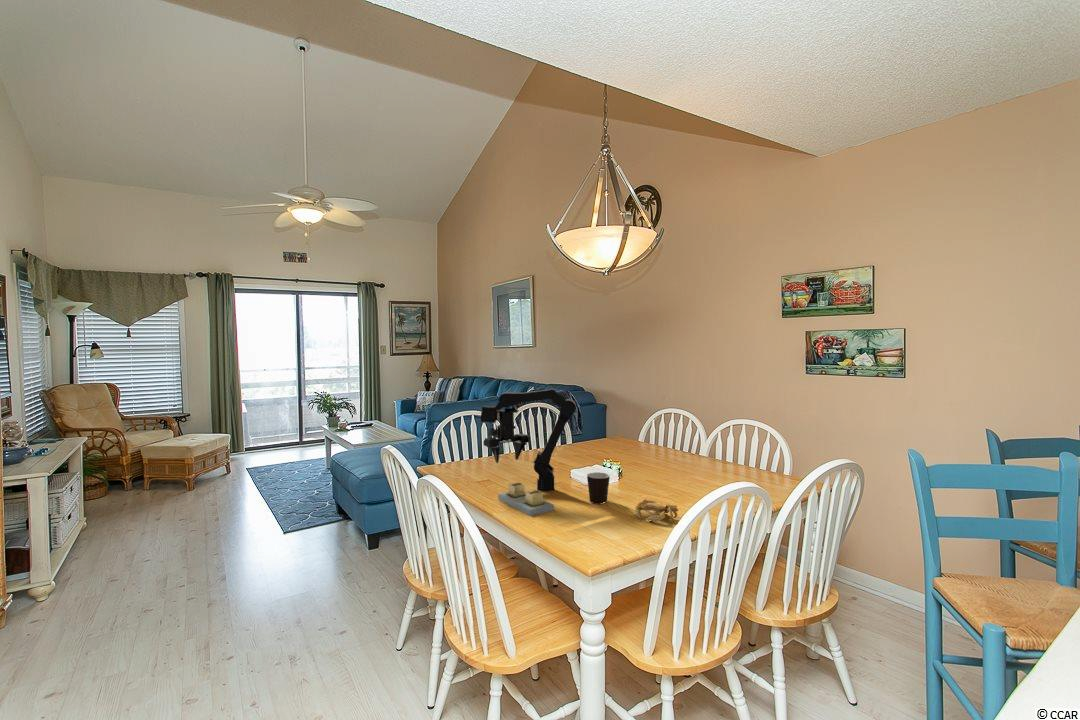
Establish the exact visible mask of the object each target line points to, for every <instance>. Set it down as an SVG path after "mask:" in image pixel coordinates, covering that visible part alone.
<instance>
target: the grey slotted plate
mask: <svg viewBox="0 0 1080 720" xmlns="http://www.w3.org/2000/svg"><path fill="white" fill-rule="evenodd" d="M526 492H527V491H525V496H523V497H518V498H512V497H510V496H509V495H508V491H507V492H503V493H502V492H500V493H498V494H497V499H498V501H500V502H503V504H504V503H505V504H506V505H508V506H510V507H512V508H514V509H516V510H518V511H519V512H522V513H524V514H526V515H528V516H530V517H532V516H536V515H540V514H544V513H548V512H552V511H554V510H555V505H554V504H553V503H551V502H549V501H547V500H545V499H543V505H540V506H536V507H530V506H528V505H526Z"/></svg>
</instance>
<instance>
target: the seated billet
mask: <svg viewBox="0 0 1080 720" xmlns="http://www.w3.org/2000/svg"><path fill="white" fill-rule="evenodd" d="M525 492H526V505H528V506H530V507H536V506H540V505H543V500H544V494H543V491H541V490H537V489H534V490H529V491H525Z"/></svg>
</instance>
